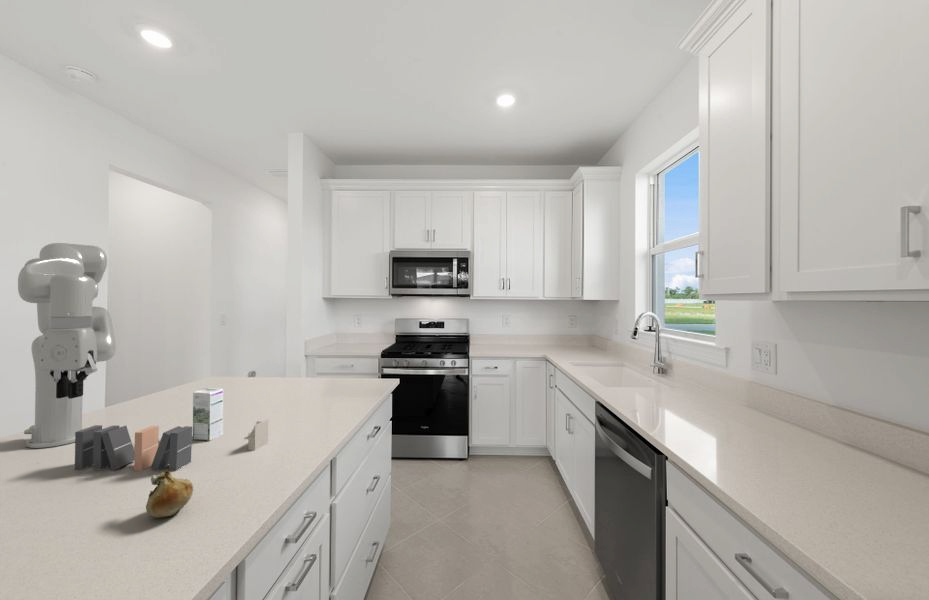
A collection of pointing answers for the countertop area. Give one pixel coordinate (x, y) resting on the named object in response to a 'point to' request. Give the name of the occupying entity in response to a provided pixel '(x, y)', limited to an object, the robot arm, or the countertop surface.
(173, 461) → the domino
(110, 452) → the domino
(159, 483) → the onion
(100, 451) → the domino
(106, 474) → the countertop surface
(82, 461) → the domino
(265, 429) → the architectural model
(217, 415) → the syrup box
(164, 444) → the domino
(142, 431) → the domino
